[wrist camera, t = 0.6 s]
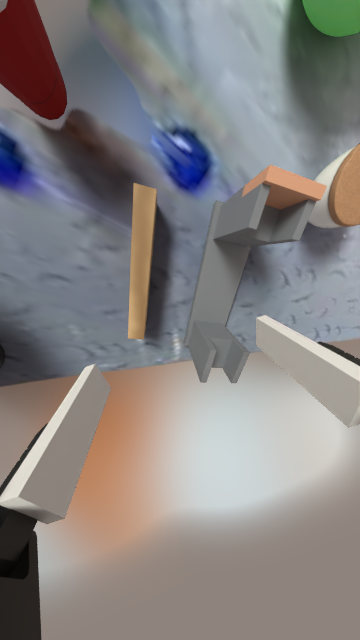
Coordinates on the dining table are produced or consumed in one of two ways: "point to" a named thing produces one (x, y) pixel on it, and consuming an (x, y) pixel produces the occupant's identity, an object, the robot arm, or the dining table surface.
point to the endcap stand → (242, 259)
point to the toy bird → (334, 16)
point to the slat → (141, 257)
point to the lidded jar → (339, 192)
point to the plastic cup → (29, 60)
